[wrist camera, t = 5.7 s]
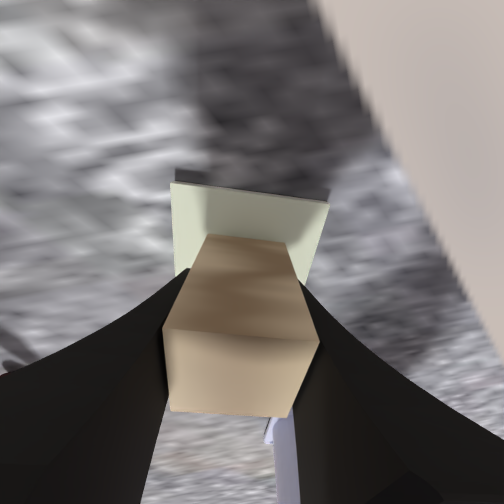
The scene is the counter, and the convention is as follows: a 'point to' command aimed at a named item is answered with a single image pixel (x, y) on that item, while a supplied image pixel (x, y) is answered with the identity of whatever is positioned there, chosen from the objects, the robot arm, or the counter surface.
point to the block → (238, 331)
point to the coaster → (244, 221)
